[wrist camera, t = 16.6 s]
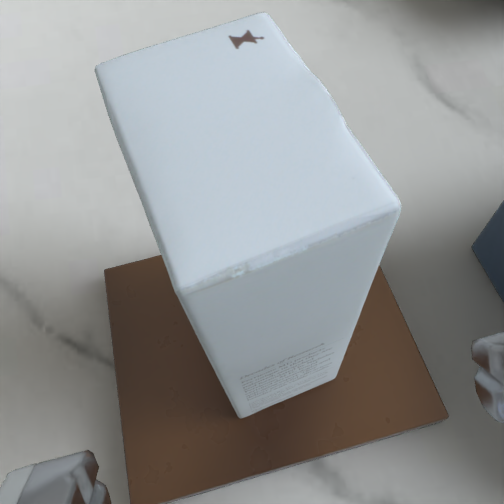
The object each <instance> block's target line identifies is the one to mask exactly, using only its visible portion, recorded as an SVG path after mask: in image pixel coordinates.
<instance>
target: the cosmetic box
mask: <svg viewBox="0 0 504 504" xmlns="http://www.w3.org/2000/svg"><path fill="white" fill-rule="evenodd" d="M95 73H96V77H97V80H98V83H99V86H100V90H101V93H102V96H103V99H104V103H105V106H106V109H107V112H108V115H109V118H110V121H111V124H112V127H113V130H114V132H115V135H116V138H117V141H118V143H119V146H120V148H121V151H122V153H123V156H124V158H125V161H126V163H127V166H128V168H129V171H130V174H131V176H132V179H133V182H134V184H135V187H136V189H137V192H138V194H139V197H140V199H141V202H142V205H143V207H144V210H145V213H146V215H147V218H148V221H149V224H150V226H151V229H152V232H153V234H154V237H155V239H156V242H157V245H158V247H159V250H160V253H161V255H162V258H163V260H164V263H165V266H166V268H167V271H168V274H169V277H170V280H171V283H172V286H173V289H174V291H175V293H176V295H177V297H178V299H179V301H180V303H181V305H182V307H183V309H184V311H185V313H186V315H187V317H188V319H189V321H190V323H191V325H192V327H193V329H194V331H195V333H196V335H197V337H198V339H199V341H200V343H201V345H202V347H203V349H204V351H205V353H206V355H207V357H208V359H209V361H210V363H211V365H212V367H213V369H214V371H215V373H216V375H217V377H218V379H219V381H220V383H221V385H222V387H223V389H224V390H225V392H226V394H227V396H228V398H229V400H230V402H231V404H232V406H233V408H234V410H235V412H236V414H237V416H238V417H239V418H244V417H247V416H250V415H252V414H254V413H256V412H258V411H260V410H262V409H265V408H267V407H269V406H272V405H274V404H277V403H279V402H282V401H284V400H286V399H289V398H291V397H294V396H296V395H298V394H300V393H303V392H305V391H307V390H310V389H312V388H315V387H317V386H319V385H322V384H324V383H326V382H329V381H331V380H333V379H334V378H335V377H336V376H337V373H338V371H339V368H340V365H341V363H342V360H343V357H344V355H345V352H346V350H347V347H348V344H349V342H350V339H351V337H352V334H353V331H354V329H355V326H356V324H357V321H358V318H359V316H360V313H361V310H362V307H363V305H364V302H365V300H366V297H367V295H368V292H369V289H370V287H371V284H372V282H373V279H374V277H375V274H376V272H377V269H378V267H379V264H380V262H381V259H382V257H383V254H384V251H385V249H386V247H387V244H388V242H389V239H390V237H391V235H392V232H393V230H394V227H395V225H396V223H397V220H398V218H399V215H400V211H401V203H400V200H399V198H398V196H397V195H396V194H395V192H394V191H393V189H392V188H391V186H390V185H389V184H388V182H387V181H386V179H385V178H384V177H383V175H382V174H381V172H380V171H379V169H378V168H377V167H376V165H375V164H374V162H373V161H372V159H371V158H370V157H369V155H368V154H367V152H366V151H365V149H364V148H363V147H362V145H361V144H360V142H359V141H358V140H357V138H356V137H355V136H354V134H353V133H352V131H351V130H350V128H349V127H348V125H347V123H346V122H345V120H344V118H343V116H342V114H341V112H340V110H339V108H338V106H337V104H336V103H335V101H334V100H333V98H332V97H331V95H330V94H329V92H328V90H327V89H326V88H325V86H324V85H323V83H322V82H321V81H320V80H319V79H318V78H317V77H316V76H315V75H314V74H313V73H312V72H311V71H310V70H309V69H308V68H307V66H306V65H305V64H304V62H303V61H302V59H301V58H300V57H299V55H298V54H297V53H296V51H295V50H294V49H293V48H292V46H291V45H290V43H289V42H288V40H287V39H286V38H285V36H284V35H283V33H282V32H281V31H280V29H279V28H278V26H277V25H276V24H275V22H274V21H273V19H272V18H271V17H270V15H269V14H267V13H265V12H261V13H256V14H253V15H250V16H247V17H244V18H241V19H237V20H234V21H231V22H228V23H225V24H222V25H218V26H215V27H212V28H209V29H206V30H202V31H199V32H196V33H193V34H189V35H186V36H182V37H179V38H176V39H172V40H169V41H166V42H163V43H160V44H156V45H153V46H150V47H146V48H143V49H140V50H137V51H134V52H131V53H128V54H125V55H122V56H120V57H117V58H114V59H111V60H109V61H106V62H103V63H100V64H99V65H97V66H96V67H95Z"/></svg>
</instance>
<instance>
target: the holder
mask: <svg viewBox="0 0 504 504" xmlns="http://www.w3.org/2000/svg"><path fill="white" fill-rule="evenodd" d="M472 249H473V251H474V253H475V254H476V256H477V258H478V260H479V261H480V263H481V265H482V266H483V268H484V270H485V271H486V273H487V275H488V277H489V278H490V280H491V282H492V283H493V285H494V287H495V288H496V290H497V292H498V294H499V295H500V297H501V299H502V300H503V302H504V201H503V202H502V203H501V205H500V206H499V208H498V209H497V211H496V212H495V213H494V215H493V216H492V218H491V219H490V221H489V222H488V223H487V225H486V226H485V228H484V229H483V230H482V232H481V233H480V235H479V236H478V238H477V239H476V240H475V242H474V243H473V245H472Z"/></svg>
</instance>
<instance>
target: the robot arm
mask: <svg viewBox="0 0 504 504" xmlns="http://www.w3.org/2000/svg"><path fill="white" fill-rule="evenodd" d="M471 352H472V359H473V360H474V361H475V362H476V363H477V364H478V365H479V366H480V367H479V369H478V371H477V373H476V375H475V377H474V380H475V386H476V392H477V394H478V397H479V399H480V401H481V404H482V405H483V407H484V408H485V410H486V411H487V412H488V414H489V415H491V416H492V417H493V418H494V419H495V420H496V421H498V422H501V423H504V331H503V332H500V333H497V334H494V335H490V336H487V337H484V338H481V339H478V340H474V341H473V343H472V347H471ZM98 469H99V466H98V464H97V461H96V459H95V456H94V454H93V453H92V452H91V451H89V450H86V451H82V452H78V453H74V454H71V455H67V456H63V457H59V458H55V459H52V460H48V461H44V462H40V463H38V464H32V465H29V466H26V467H22V468H19V469H15V470H13V471H11V472H10V473H8V474H7V476H6V478H5V480H4V482H3V484H2V485H1V487H0V504H111V500H110V495H109V493H108V490H107V487H106V485H105V484H103V483H101V482H100V481H98V480H96V477H97V473H98Z"/></svg>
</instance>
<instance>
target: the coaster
mask: <svg viewBox="0 0 504 504" xmlns="http://www.w3.org/2000/svg"><path fill="white" fill-rule="evenodd" d="M104 275H105V284H106V293H107V302H108V310H109V319H110V328H111V337H112V346H113V354H114V363H115V372H116V381H117V390H118V398H119V407H120V416H121V425H122V433H123V442H124V451H125V460H126V469H127V477H128V486H129V495H130V504H168V503H171V502H174V501H178V500H181V499H185V498H188V497H191V496H195V495H198V494H201V493H205V492H208V491H211V490H215V489H218V488H221V487H225V486H228V485H232V484H235V483H238V482H242V481H245V480H248V479H252V478H255V477H258V476H262V475H265V474H269V473H272V472H275V471H279V470H282V469H285V468H289V467H292V466H295V465H299V464H302V463H306V462H309V461H312V460H316V459H319V458H322V457H326V456H329V455H332V454H336V453H339V452H343V451H346V450H349V449H353V448H356V447H359V446H363V445H366V444H369V443H373V442H376V441H380V440H383V439H386V438H390V437H393V436H396V435H400V434H403V433H406V432H410V431H413V430H416V429H420V428H423V427H427V426H430V425H433V424H437V423H440V422H442V421H444V420H446V419H447V418H448V417H449V415H448V413H447V411H446V408H445V406H444V404H443V402H442V400H441V398H440V395H439V393H438V391H437V389H436V387H435V385H434V382H433V380H432V378H431V376H430V374H429V371H428V369H427V367H426V365H425V363H424V361H423V358H422V356H421V354H420V352H419V350H418V348H417V345H416V343H415V341H414V339H413V337H412V335H411V332H410V330H409V328H408V326H407V324H406V321H405V319H404V317H403V315H402V313H401V311H400V308H399V306H398V304H397V302H396V300H395V298H394V295H393V293H392V291H391V289H390V287H389V285H388V282H387V280H386V278H385V276H384V274H383V271H382V269H381V267H380V265H379V267H378V269H377V272H376V274H375V277H374V279H373V282H372V284H371V287H370V289H369V292H368V295H367V297H366V300H365V302H364V305H363V307H362V310H361V313H360V316H359V318H358V321H357V324H356V326H355V329H354V331H353V334H352V337H351V339H350V342H349V344H348V347H347V350H346V352H345V355H344V357H343V360H342V363H341V365H340V368H339V371H338V373H337V376H336V377H335V378H334V379H333V380H331V381H329V382H326V383H324V384H322V385H319V386H317V387H315V388H312V389H310V390H307V391H305V392H303V393H300V394H298V395H296V396H294V397H291V398H289V399H286V400H284V401H282V402H279V403H277V404H274V405H272V406H269V407H267V408H265V409H262V410H260V411H258V412H256V413H254V414H252V415H250V416H247V417H244V418H239V417H238V416H237V414H236V412H235V410H234V408H233V406H232V404H231V402H230V400H229V398H228V396H227V394H226V392H225V390H224V389H223V387H222V385H221V383H220V381H219V379H218V377H217V375H216V373H215V371H214V369H213V367H212V365H211V363H210V361H209V359H208V357H207V355H206V353H205V351H204V349H203V347H202V345H201V343H200V341H199V339H198V337H197V335H196V333H195V331H194V329H193V327H192V325H191V323H190V321H189V319H188V317H187V315H186V313H185V311H184V309H183V307H182V305H181V303H180V301H179V299H178V297H177V295H176V293H175V291H174V289H173V286H172V283H171V280H170V277H169V274H168V271H167V268H166V266H165V263H164V260H163V258H162V255H159V256H155V257H151V258H148V259H144V260H140V261H136V262H132V263H128V264H124V265H120V266H116V267H112V268H108V269H105V270H104Z"/></svg>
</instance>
